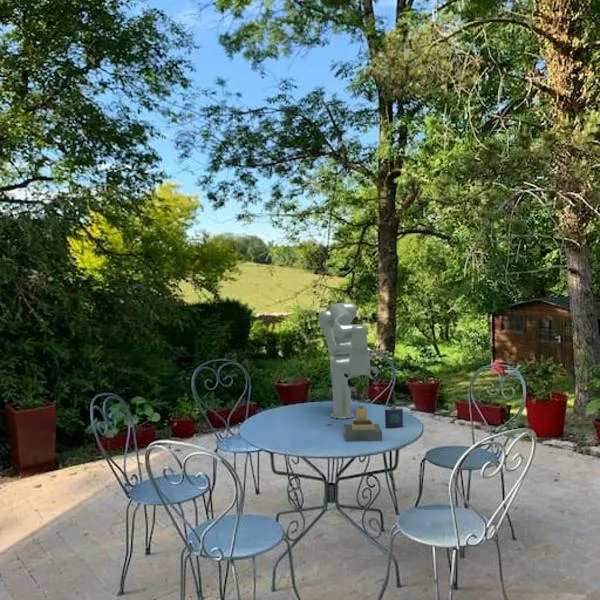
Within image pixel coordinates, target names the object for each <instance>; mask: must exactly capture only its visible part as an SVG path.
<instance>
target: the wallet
mask: <svg viewBox="0 0 600 600" xmlns="http://www.w3.org/2000/svg"><path fill="white" fill-rule="evenodd" d="M403 409H404V408H402V407H397V406H396V405H395V404H394V405H392V407H390V408H389V407H387V408H386V409H384V415H385V416H384V417H385V418H384V421H385V422H384V423H385V429H395V428H396V427H397V428H402V427H404V415H403V414H404V411H403Z"/></svg>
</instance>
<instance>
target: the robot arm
mask: <svg viewBox="0 0 600 600" xmlns="http://www.w3.org/2000/svg"><path fill="white" fill-rule="evenodd" d="M357 313H358V310H357V306H356V305H355V304H354V303H353V302H336V303H333V304H332V305H331V306H330V307H329V309H328V310H323V311H321V312H320V313H319V315H318V324H319V327H320V330H321V332H322V333H323V335H324V337H325V341H326V345H327V348H328V353H329V355H330V356H331V357H332V359H331V360H330V364H329V366H330V367H329V368H330V373H331V379H332V381H331V382H332V383H331V384H332V406H333V407H332V411H333V412H331V413H330V415H329V416H330V418H332V417H333V418H332V419H336V418H338V420H347V419H346V418H348V419H353V418H354V417H355V413H353V412H352V401H351V400H352V397H351V391H352V390H351V388H352V380H351V378H352V377H353V376H368V387H369V388H372V386H373V379H374V378H375V377H376V375H377V374H378V371H379V370H378V368H376V367H374V366H372V365H371V361H370V355H369V353H371V349H370V348H368V334H367V333H368V332H367V330H368V329H367V327H366V326H365V325H362V324H359V323H357V324H352V321H353V320H354V319H355V318H356V317H357ZM371 370H372V371H373V373H371Z"/></svg>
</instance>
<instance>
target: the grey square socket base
mask: <svg viewBox="0 0 600 600" xmlns="http://www.w3.org/2000/svg"><path fill="white" fill-rule="evenodd" d="M343 434H344V438H346V439H345V442H372V441H373V442H375V441H376V442H377V441H379V442H380V441H383V430H382V429H381V427H380V425H379V423H374V421H373V419H367V420H357V419H350V424H344V425H343Z"/></svg>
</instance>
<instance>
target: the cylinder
mask: <svg viewBox="0 0 600 600" xmlns="http://www.w3.org/2000/svg"><path fill="white" fill-rule="evenodd" d="M367 409H368V408H367V407H366V406H365V407H364V405H363V404H361V405H358V407H356V408H355V410H356V411H355V412H356V413H355V414H356V417H355V418H356V419H355V420H368V417H367V416H368V414H367V413H368V410H367Z"/></svg>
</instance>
